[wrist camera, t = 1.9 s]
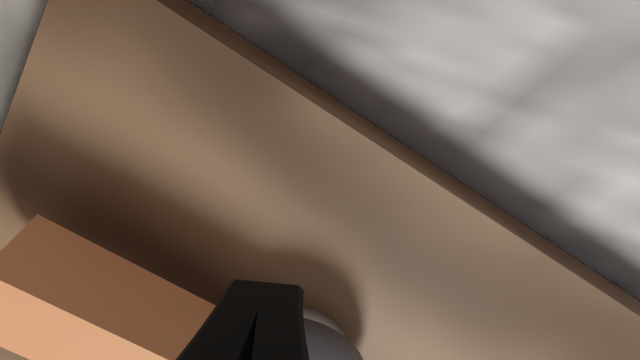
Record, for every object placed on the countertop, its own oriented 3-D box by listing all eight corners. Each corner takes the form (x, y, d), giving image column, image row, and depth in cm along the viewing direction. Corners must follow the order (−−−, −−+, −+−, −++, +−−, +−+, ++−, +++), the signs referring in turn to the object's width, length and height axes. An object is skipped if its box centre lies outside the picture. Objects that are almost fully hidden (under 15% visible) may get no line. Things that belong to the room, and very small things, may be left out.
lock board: (93, -62, 12) (49, -54, 11) (682, 329, 17) (717, 378, 16) (-54, 326, 20) (-93, 367, 18) (383, 518, 25) (385, 564, 23)
